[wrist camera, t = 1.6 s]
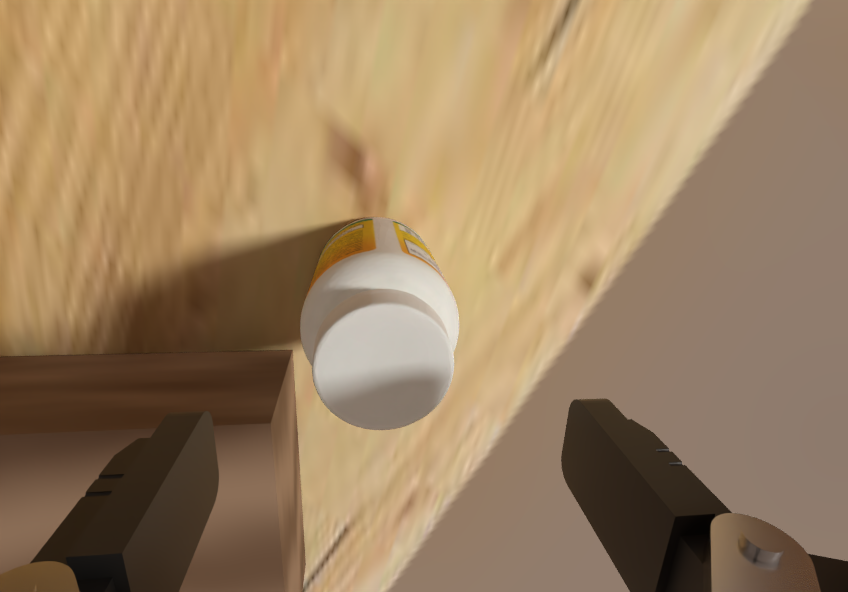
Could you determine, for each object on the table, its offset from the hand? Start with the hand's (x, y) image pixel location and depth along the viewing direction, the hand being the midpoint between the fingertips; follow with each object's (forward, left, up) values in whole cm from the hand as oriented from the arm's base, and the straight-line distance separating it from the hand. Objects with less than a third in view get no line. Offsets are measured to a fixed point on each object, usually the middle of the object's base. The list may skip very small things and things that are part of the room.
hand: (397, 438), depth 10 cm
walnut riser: (+11, -11, -12) cm, 20 cm away
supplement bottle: (0, 0, -13) cm, 13 cm away
